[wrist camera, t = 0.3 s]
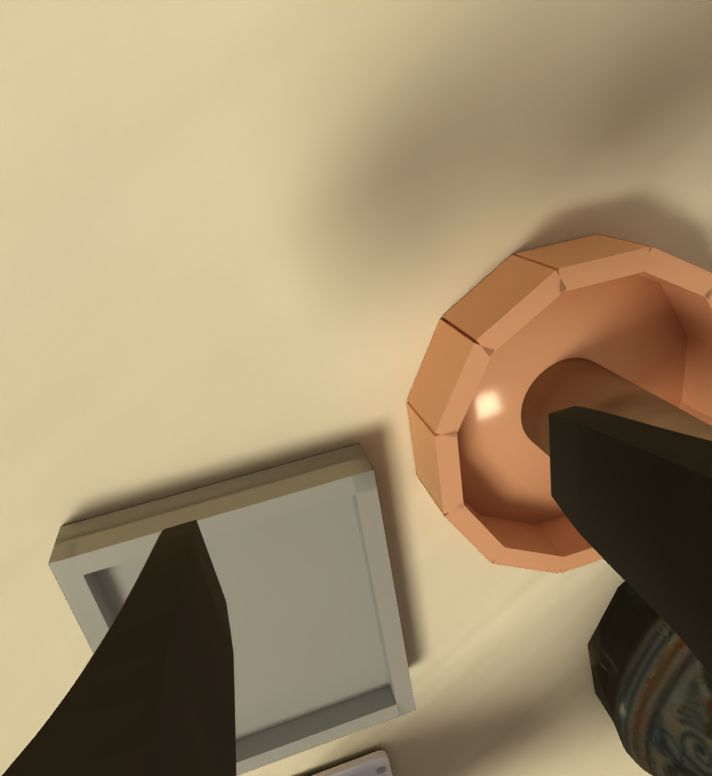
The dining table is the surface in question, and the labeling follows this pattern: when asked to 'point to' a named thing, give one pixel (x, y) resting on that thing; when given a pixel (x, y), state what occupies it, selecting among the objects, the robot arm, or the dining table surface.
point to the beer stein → (652, 688)
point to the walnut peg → (598, 401)
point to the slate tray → (272, 595)
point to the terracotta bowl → (528, 360)
